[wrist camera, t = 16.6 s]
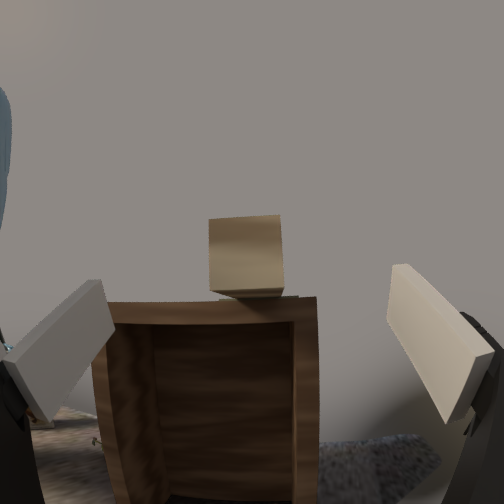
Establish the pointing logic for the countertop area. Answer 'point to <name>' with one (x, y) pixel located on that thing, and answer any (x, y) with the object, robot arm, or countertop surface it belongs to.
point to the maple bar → (246, 256)
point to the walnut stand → (211, 400)
